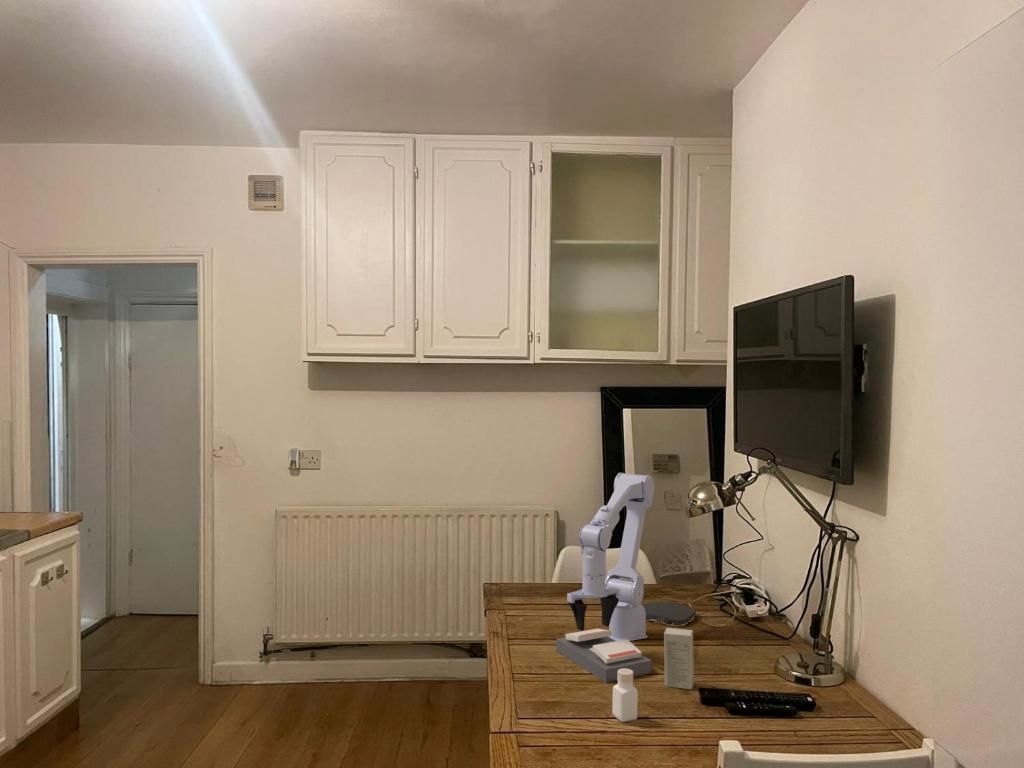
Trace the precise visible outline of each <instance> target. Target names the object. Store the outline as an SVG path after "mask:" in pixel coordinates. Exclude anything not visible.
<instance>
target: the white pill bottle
mask: <svg viewBox="0 0 1024 768" xmlns="http://www.w3.org/2000/svg"><path fill="white" fill-rule="evenodd" d="M616 681H617V683H616V684H615V685H614V686H612V716H614V717H615V718H616V719H617V720H619V722H622V723H623V722H630V721H635V720H637V719H638V700H639V699H638V696H639V694H638V689H637V688H636V687H635V685H634V677H633V671H632V670H630V669H619V670H618V671H617V680H616Z"/></svg>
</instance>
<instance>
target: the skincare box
mask: <svg viewBox="0 0 1024 768" xmlns="http://www.w3.org/2000/svg"><path fill="white" fill-rule="evenodd" d="M663 646H664V647H663V648H664V649H663V650H664V651H663V653H664V655H663V656H664V659H663V660H664V686H665V687H670V688H678V689H685V690H693V688H694V684H695V683H694V630H692V629H686V628H685V629H684V628H683V629H682V628H677V627H666V628H665V630H664V632H663Z"/></svg>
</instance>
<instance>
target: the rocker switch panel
mask: <svg viewBox="0 0 1024 768" xmlns="http://www.w3.org/2000/svg"><path fill="white" fill-rule="evenodd" d="M614 641H615V640H613V639H612V638H610V637H608V636H607V637H602V638H596V639H590V640H585V641H579V642H578V641H573V640H568V639H566V636H565V637H560V638H559V637H558V638H556V641H555V642H556V643H555V645H556V646H555V648H556V649H555V651H556V652H558V653H560V654H561V655H563V656H564V657H566V658H567V659H569V660H570V661H571V662H573V663H575V664H576V665H578V666H579V667H581V668H582V669H584V670H585V671H587V672H589V673H590V674H591V675H594V677H596V678H598V679H600V681H602V682H604V683H611V682H615V681H618V680H617V671H618V670H619V669H630V670H632V671H633V678H635V677H638V676H643V675H648V674H652V659H650V658H648V657H646V656H644V655H642V654H641V657H637V658H632V659H627V660H622V661H618V662H613V663H608V664H606V663H605V662H604V661H603V660H602V659H601V658H600V657H599V656H598V655H597V654H596V653H595V652H594V651H593V650H592V648H593V645H598V644H603V643H609V642H614Z"/></svg>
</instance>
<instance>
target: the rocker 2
mask: <svg viewBox="0 0 1024 768" xmlns="http://www.w3.org/2000/svg"><path fill="white" fill-rule="evenodd" d="M592 650H593V651H594V652H595V653H596V654H597V655H598V656H599V657H600V658H601V659H602V660H603V661H604V662H605V663H606V664H608V663H613V662H618V661H622V660H627V659H632V658H637V657H641V655H642V651H641V650H640V649H638V647H637V646H636V645H634V644H633V643H632V641H628V640H627V639H625V640H619V641H614V642H609V643H603V644H598V645H593V648H592Z"/></svg>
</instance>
